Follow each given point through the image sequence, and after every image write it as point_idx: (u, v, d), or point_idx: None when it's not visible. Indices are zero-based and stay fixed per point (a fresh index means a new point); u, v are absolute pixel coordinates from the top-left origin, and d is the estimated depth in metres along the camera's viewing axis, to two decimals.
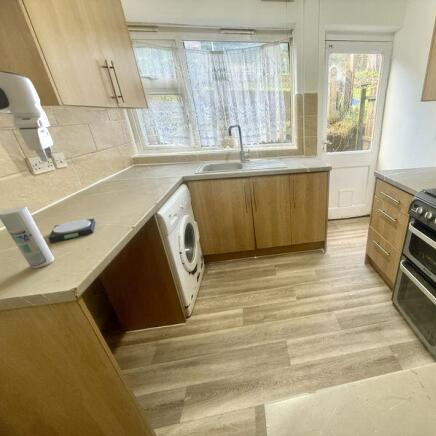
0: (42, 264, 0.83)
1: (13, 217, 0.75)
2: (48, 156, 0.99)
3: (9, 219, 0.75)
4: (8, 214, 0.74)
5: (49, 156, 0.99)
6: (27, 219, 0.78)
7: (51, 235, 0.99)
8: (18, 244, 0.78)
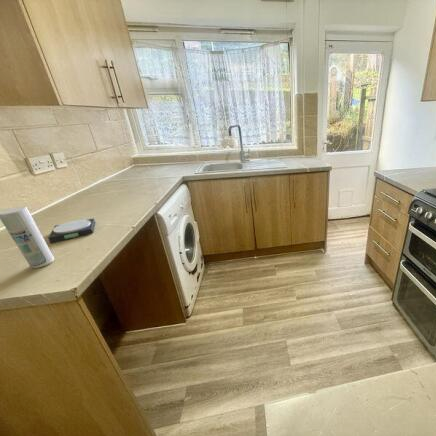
0: (42, 264, 0.83)
1: (13, 217, 0.75)
2: None
3: (9, 219, 0.75)
4: (8, 214, 0.74)
5: None
6: (27, 219, 0.78)
7: (51, 235, 0.99)
8: (18, 244, 0.78)
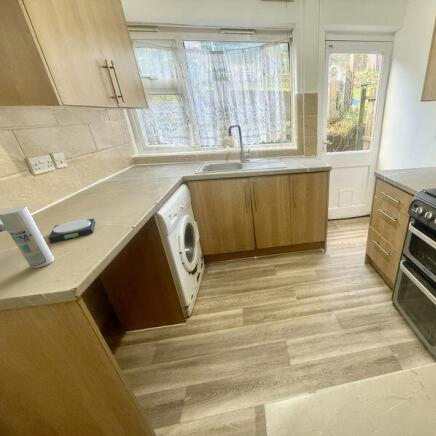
0: (42, 264, 0.83)
1: (13, 217, 0.75)
2: None
3: (9, 219, 0.75)
4: (8, 214, 0.74)
5: None
6: (27, 219, 0.78)
7: (51, 235, 0.99)
8: (18, 244, 0.78)
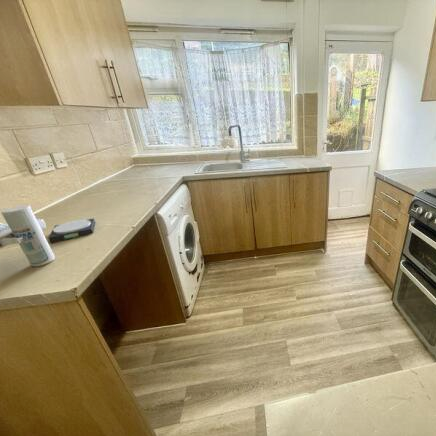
0: (44, 262, 0.84)
1: (19, 214, 0.76)
2: None
3: (14, 216, 0.76)
4: (13, 212, 0.76)
5: None
6: (31, 217, 0.79)
7: (51, 235, 0.99)
8: (21, 242, 0.79)
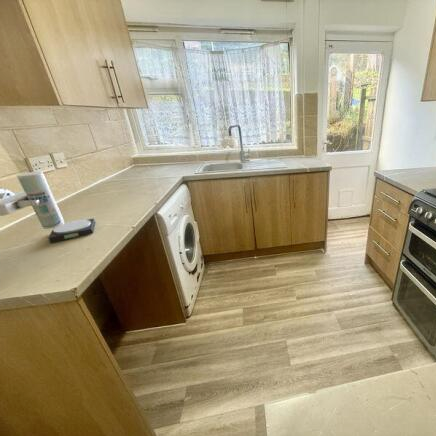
0: (57, 224, 0.91)
1: (36, 178, 0.84)
2: None
3: (32, 180, 0.83)
4: (31, 175, 0.83)
5: None
6: (45, 182, 0.87)
7: (51, 235, 0.99)
8: None
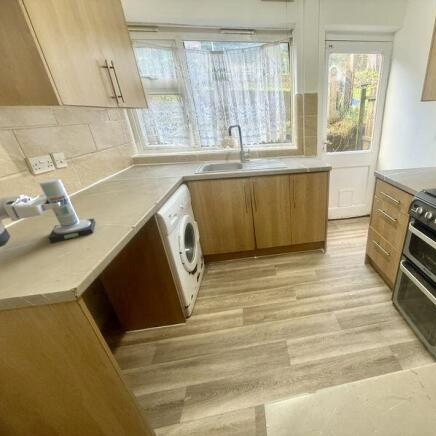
0: (76, 223, 1.06)
1: (57, 184, 0.98)
2: None
3: (54, 185, 0.97)
4: (54, 182, 0.97)
5: None
6: (63, 187, 1.01)
7: (51, 235, 0.99)
8: (58, 207, 1.00)
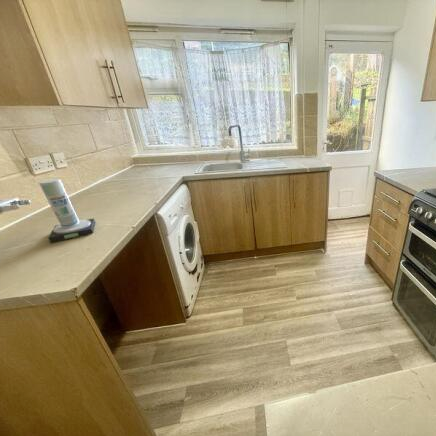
0: (76, 223, 1.06)
1: (57, 184, 0.98)
2: (26, 203, 1.01)
3: (54, 185, 0.97)
4: (53, 182, 0.97)
5: (26, 202, 1.01)
6: (63, 187, 1.01)
7: (51, 235, 0.99)
8: (58, 207, 1.00)
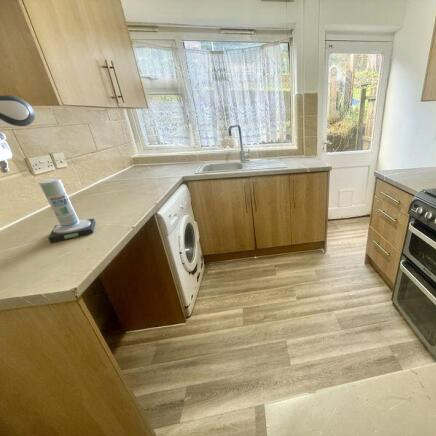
0: (76, 223, 1.06)
1: (57, 184, 0.98)
2: None
3: (54, 185, 0.97)
4: (53, 182, 0.97)
5: None
6: (63, 187, 1.01)
7: (51, 235, 0.99)
8: (58, 207, 1.00)
